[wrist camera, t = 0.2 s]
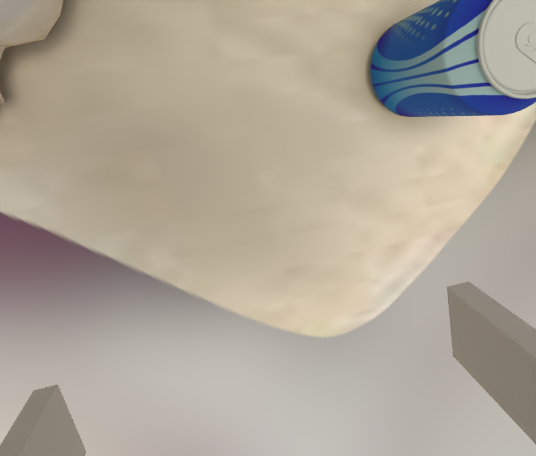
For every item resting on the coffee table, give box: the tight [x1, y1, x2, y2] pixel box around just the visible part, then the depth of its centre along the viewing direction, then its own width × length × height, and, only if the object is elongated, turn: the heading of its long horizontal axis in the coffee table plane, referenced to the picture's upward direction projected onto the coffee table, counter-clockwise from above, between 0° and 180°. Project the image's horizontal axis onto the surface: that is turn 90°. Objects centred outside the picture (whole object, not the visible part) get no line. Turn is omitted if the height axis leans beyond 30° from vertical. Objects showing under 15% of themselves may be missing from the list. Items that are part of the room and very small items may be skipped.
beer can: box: [370, 0, 536, 117], centre depth 32 cm, size 8×8×16 cm
